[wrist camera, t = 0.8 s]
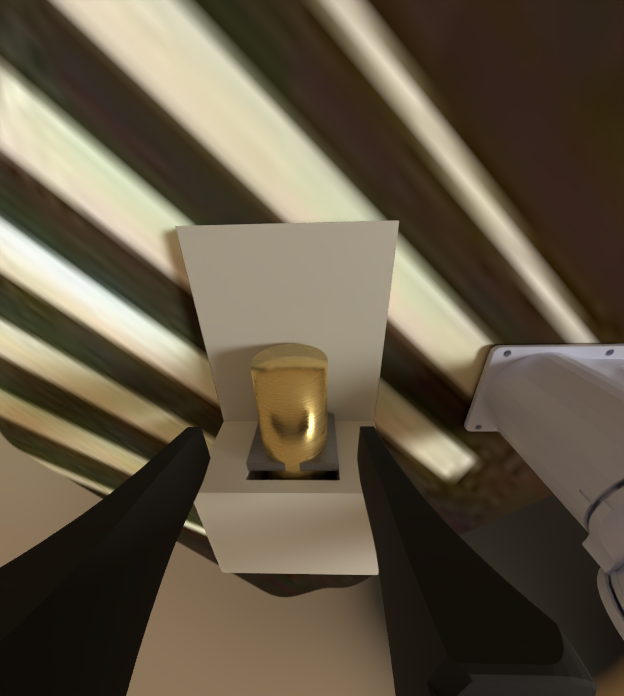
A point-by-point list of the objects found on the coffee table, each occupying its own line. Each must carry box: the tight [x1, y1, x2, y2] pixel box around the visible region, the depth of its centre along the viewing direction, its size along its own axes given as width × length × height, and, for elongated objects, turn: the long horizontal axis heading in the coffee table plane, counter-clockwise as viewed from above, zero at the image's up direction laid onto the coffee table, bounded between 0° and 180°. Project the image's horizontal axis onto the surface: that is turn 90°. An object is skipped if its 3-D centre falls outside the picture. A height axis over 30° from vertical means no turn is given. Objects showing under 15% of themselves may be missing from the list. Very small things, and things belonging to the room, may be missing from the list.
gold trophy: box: [246, 344, 339, 480], centre depth 17 cm, size 6×14×4 cm, turn 1°
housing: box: [175, 221, 399, 575], centre depth 16 cm, size 12×24×7 cm, turn 1°
